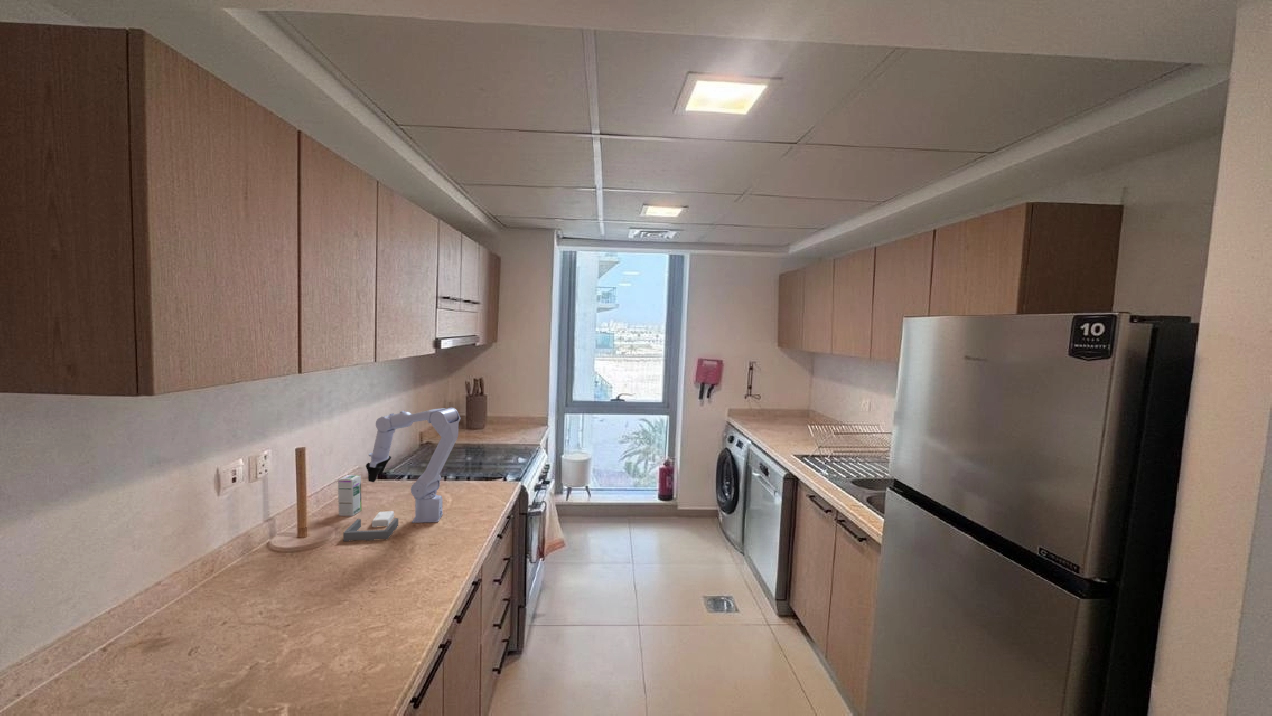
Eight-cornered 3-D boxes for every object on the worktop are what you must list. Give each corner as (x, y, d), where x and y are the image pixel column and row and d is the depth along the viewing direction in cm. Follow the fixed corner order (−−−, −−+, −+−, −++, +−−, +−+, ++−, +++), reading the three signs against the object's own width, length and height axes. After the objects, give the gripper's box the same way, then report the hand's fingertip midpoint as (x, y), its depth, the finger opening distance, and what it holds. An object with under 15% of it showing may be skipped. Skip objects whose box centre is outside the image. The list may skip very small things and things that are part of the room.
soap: (387, 527, 178) (387, 519, 178) (371, 528, 177) (371, 520, 176) (394, 517, 187) (394, 510, 186) (378, 518, 185) (378, 511, 185)
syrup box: (353, 516, 186) (352, 479, 185) (337, 515, 186) (337, 478, 185) (361, 510, 192) (361, 474, 191) (347, 510, 192) (346, 474, 191)
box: (398, 525, 179) (398, 518, 178) (387, 539, 167) (387, 531, 167) (357, 527, 176) (357, 519, 176) (343, 541, 165) (343, 532, 165)
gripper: (378, 436, 195) (371, 468, 196) (364, 449, 180) (356, 483, 182) (397, 440, 196) (389, 471, 197) (384, 453, 182) (376, 486, 183)
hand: (375, 477), depth 190 cm, fingers open, 7 cm apart
